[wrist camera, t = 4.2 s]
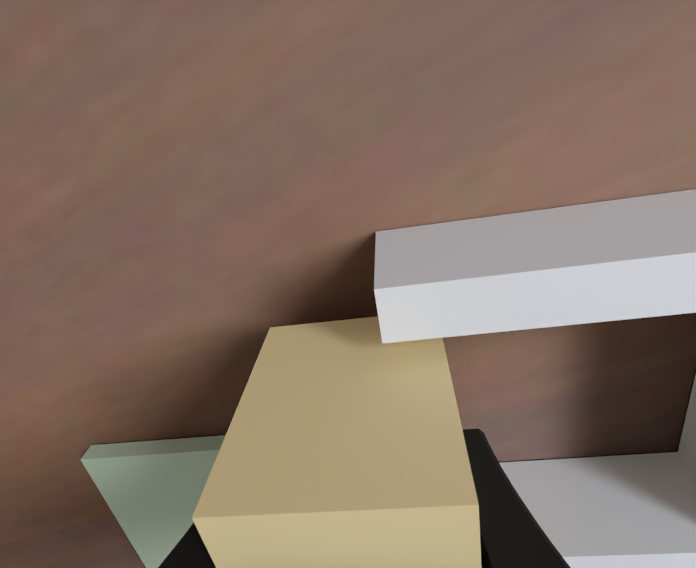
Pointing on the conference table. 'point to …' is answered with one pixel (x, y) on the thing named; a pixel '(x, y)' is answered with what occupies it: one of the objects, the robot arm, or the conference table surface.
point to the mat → (153, 488)
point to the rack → (559, 310)
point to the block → (343, 458)
